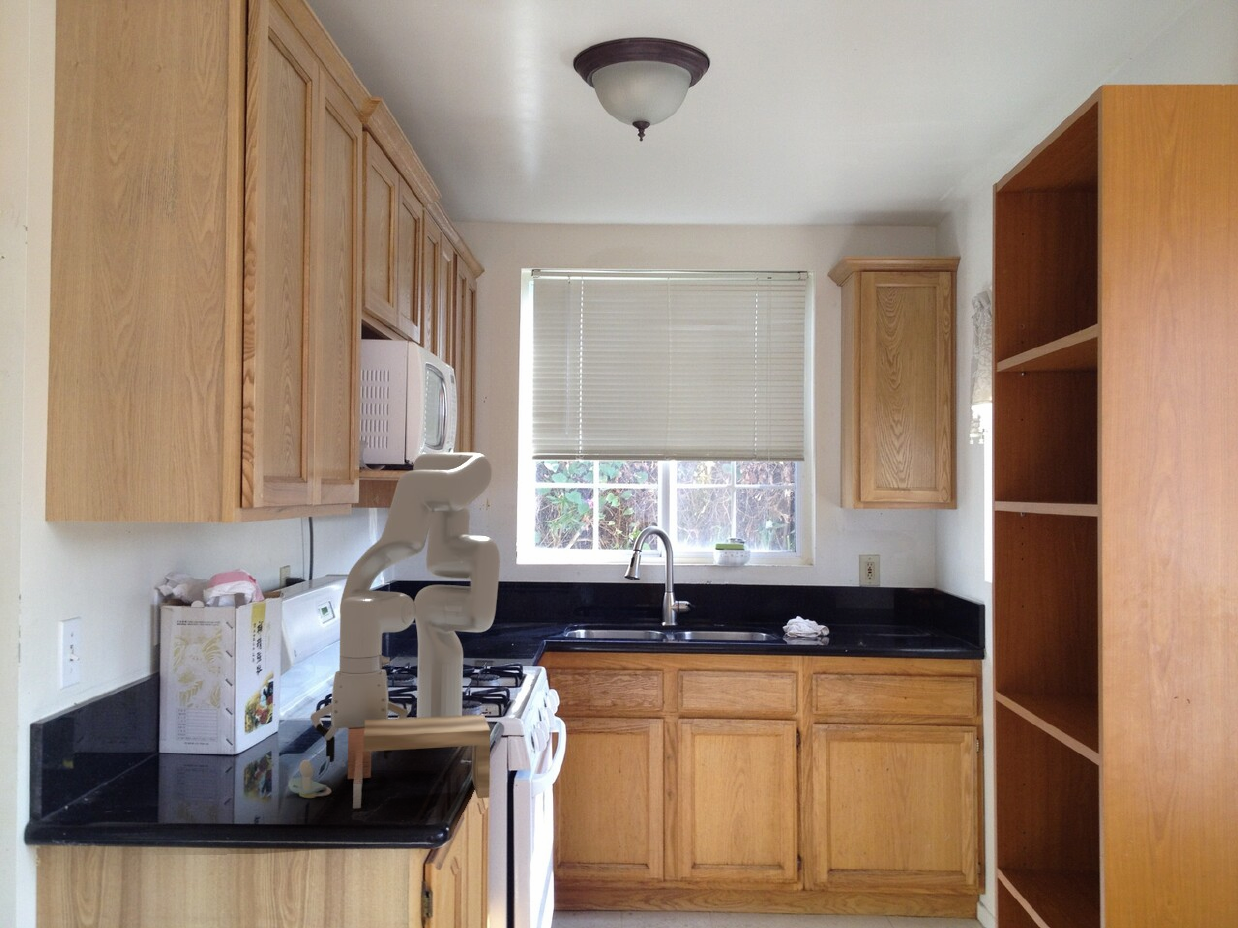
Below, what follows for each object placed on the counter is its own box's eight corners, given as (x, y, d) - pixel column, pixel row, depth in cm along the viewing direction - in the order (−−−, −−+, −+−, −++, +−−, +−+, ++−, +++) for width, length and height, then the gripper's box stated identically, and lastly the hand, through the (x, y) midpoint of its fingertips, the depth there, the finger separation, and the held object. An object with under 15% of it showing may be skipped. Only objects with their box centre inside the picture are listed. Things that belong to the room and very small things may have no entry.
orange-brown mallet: (348, 772, 176) (349, 723, 176) (370, 770, 177) (371, 722, 177) (344, 808, 156) (345, 754, 157) (369, 807, 157) (370, 752, 158)
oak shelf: (363, 785, 169) (364, 720, 169) (482, 777, 174) (483, 714, 174) (362, 805, 158) (363, 736, 158) (489, 797, 163) (490, 730, 163)
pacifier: (312, 786, 168) (283, 794, 163) (314, 751, 169) (285, 757, 164) (339, 795, 164) (310, 803, 159) (341, 758, 164) (311, 765, 159)
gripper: (408, 659, 180) (406, 750, 180) (312, 662, 176) (311, 755, 176) (409, 666, 173) (407, 761, 173) (309, 670, 169) (307, 767, 169)
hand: (359, 758), depth 174 cm, fingers open, 9 cm apart
